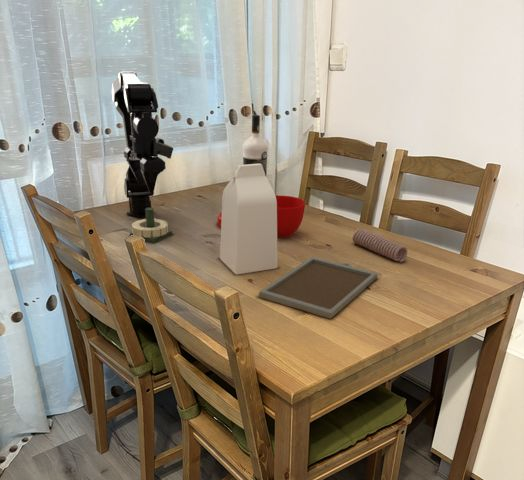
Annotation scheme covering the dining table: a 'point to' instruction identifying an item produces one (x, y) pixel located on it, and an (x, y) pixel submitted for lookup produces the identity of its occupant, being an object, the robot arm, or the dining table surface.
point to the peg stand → (151, 224)
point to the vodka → (255, 146)
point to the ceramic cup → (289, 215)
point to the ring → (143, 231)
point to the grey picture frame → (319, 286)
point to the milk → (249, 222)
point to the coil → (380, 245)
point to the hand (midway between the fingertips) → (146, 188)
